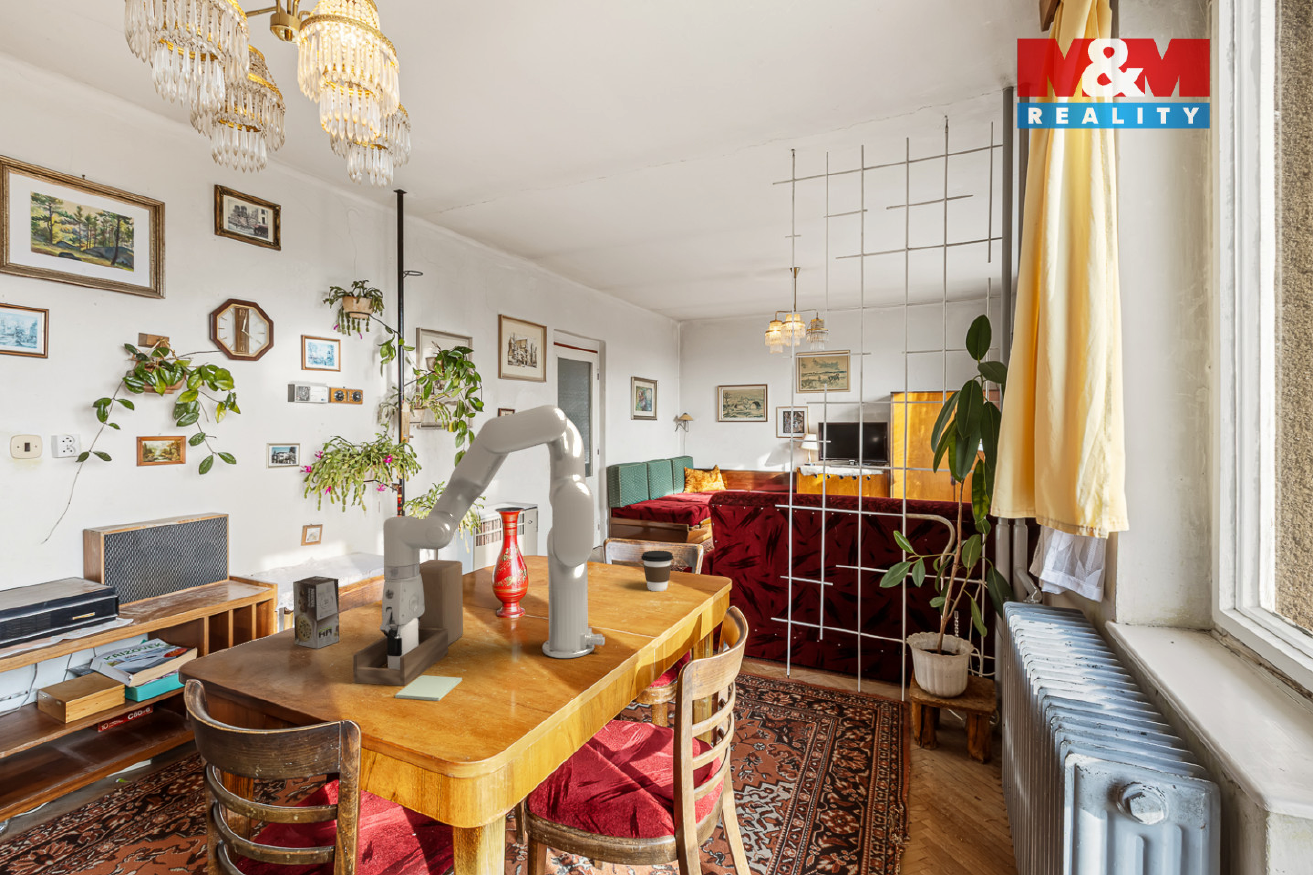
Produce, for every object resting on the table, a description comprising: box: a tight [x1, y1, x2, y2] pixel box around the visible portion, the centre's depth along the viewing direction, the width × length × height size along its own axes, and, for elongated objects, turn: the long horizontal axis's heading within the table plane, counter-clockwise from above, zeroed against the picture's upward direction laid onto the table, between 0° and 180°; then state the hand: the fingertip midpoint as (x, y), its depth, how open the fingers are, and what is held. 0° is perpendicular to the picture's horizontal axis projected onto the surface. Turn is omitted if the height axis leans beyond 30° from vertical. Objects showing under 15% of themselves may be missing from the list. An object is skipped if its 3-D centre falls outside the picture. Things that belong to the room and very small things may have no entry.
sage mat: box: [394, 674, 463, 702], centre depth 123 cm, size 10×10×1 cm
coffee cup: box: [640, 550, 674, 592], centre depth 198 cm, size 11×11×12 cm
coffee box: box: [292, 575, 340, 650], centre depth 150 cm, size 9×6×16 cm
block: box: [419, 559, 464, 646], centre depth 150 cm, size 10×10×20 cm
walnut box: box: [352, 627, 449, 687], centre depth 134 cm, size 12×18×6 cm, turn 171°
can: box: [387, 618, 418, 669], centre depth 134 cm, size 6×6×12 cm
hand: (403, 649), depth 134 cm, fingers closed on can, 5 cm apart
